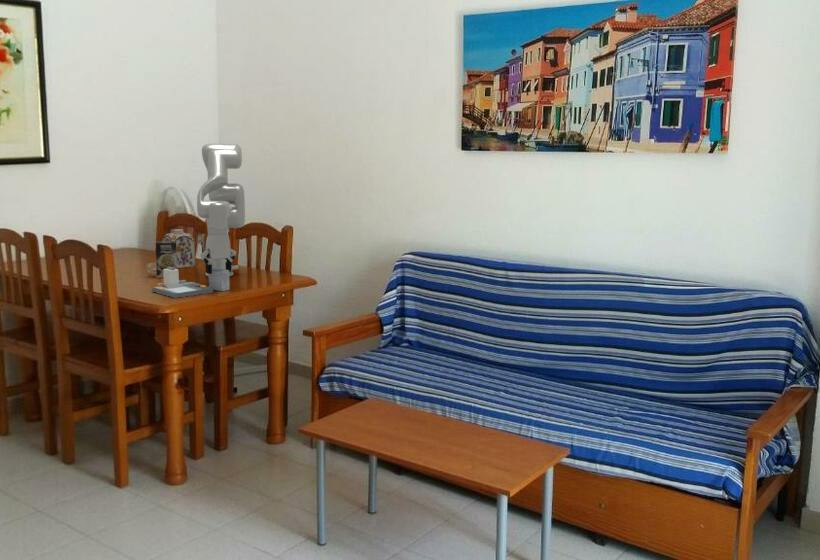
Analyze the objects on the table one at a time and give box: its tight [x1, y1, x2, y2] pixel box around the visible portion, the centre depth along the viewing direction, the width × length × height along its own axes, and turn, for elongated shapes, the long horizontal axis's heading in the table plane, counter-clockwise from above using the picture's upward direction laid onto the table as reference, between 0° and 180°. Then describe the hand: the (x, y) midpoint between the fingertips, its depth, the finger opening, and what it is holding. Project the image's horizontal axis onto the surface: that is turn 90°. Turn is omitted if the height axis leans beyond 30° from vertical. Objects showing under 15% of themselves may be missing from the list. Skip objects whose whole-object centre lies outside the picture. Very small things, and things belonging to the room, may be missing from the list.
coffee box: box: [155, 240, 178, 279], centre depth 366 cm, size 9×6×16 cm
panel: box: [151, 279, 214, 299], centre depth 335 cm, size 18×17×3 cm
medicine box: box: [208, 268, 230, 292], centre depth 342 cm, size 8×4×9 cm, turn 59°
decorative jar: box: [161, 228, 196, 269], centre depth 392 cm, size 12×12×18 cm
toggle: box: [163, 267, 180, 286], centre depth 335 cm, size 4×5×8 cm
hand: (218, 272), depth 340 cm, fingers open, 9 cm apart
